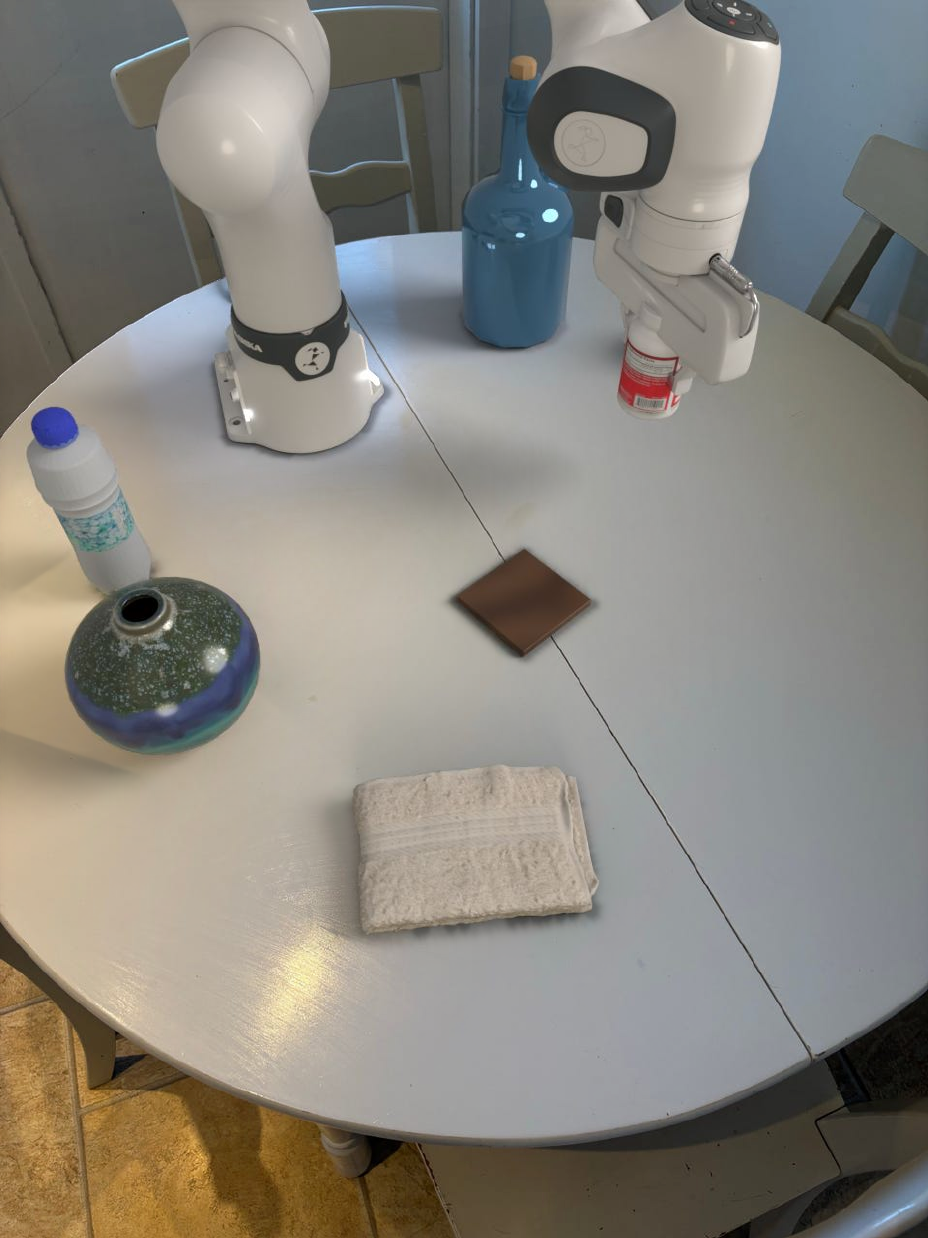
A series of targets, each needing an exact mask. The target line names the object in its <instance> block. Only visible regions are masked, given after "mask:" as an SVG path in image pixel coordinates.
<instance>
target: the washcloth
mask: <svg viewBox="0 0 928 1238" xmlns="http://www.w3.org/2000/svg"><path fill="white" fill-rule="evenodd" d="M352 792H353V796H352V804H353V809H354V810H353V811H354V812H353V816H354V821H355V825H356V826H355V827H356V828H357V835H358V836H359V850H360V852H359V858H360V863H359V864H358V866H357V871H358V873H357V886H358V890H357V894H358V901H359V922H360V926H361V929H362V931H363V932H365V934H366V936H368V935H369V934H376V933H383V932H395V933H398V932H399V931H401V930H407V931H408V930H409V931H410V930H411V931H412V930H413V929H417V928H418V929H419V928H420V929H421V928H426V927H438V926H441V927H443V926H457V924H465V925H469V924H473V923H480V922H484V921H485V922H487V921H493V920H494V919H498V920H499V919H513V918H516V917H525V916H529V917H530V916H531V917H532V916H533V917H546V916H549V915H555V916H556V915H557V914H558V915H560V914H574V913H576V914H579V913H580V914H582V913H586V912H590V911H592V909H593V898H592V897H593V896H594V894H595V892H596V891H597V889H598V887H599V884H600V881H601V880H600V879H598V876H597V875H596V873H595V871H594V867H593V866H594V865H593V862H592V859H591V858H592V857H591V852H590V847H589V842H588V835H587V831H586V825H585V820H584V815H583V809H582V805H581V798H580V794H579V788H578V783H577V777H576V776H574V775H565V774H564V772H563V771H562V770H561V769H560V768H559V767H557V766H553V765H535V766H518V765H515V766H514V765H513V766H510V765H505V764H503V763H494V764H491V765H487V766H481V767H472V768H467V769H465V768H464V769H452V770H443V771H442V770H437V771H432V772H425V773H422V774H413V775H402V776H391V777H389V776H388V777H379V778H375V779H372V780H369V781H366V782H363V783H360V784H357V785H356V786H355V787H354V788H353V791H352Z"/></svg>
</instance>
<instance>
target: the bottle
mask: <svg viewBox="0 0 928 1238" xmlns="http://www.w3.org/2000/svg"><path fill="white" fill-rule="evenodd" d="M30 429H31V432H32V434H33V436H34V438H33V439H32V440H31V441H30V442H29V444H28V446H27V448H26V460H27V463H28V466H29V469H30V472H31V475H32V478H33V482H34V485H35V486H34V487H35V489H36V490H37V491H38V493H39V494H40V495H41V498H42V500H43V501H44V503H45V504H47V505H48V506H49V507H51V509H52V510H53V512H54V514H55V515H56V518H57V519H58V521H59V523H60V525H61V527H62V529H63V531H64V533H65V535H66V537H67V539H68V541H69V542H70V544H71V546H72V549H73V551H74V555H75V556H76V559H77V561H78V565H79V566H80V568H81V571H82V572H83V574H84V576H85V578H86V579H87V581H88V582H89V583H90V584H92V585H93V586H94V587H95V588H97V589H98V591H99V592H101V593H102V594H104V595H107V596H109V595H110V594H112V593H114V592H115V591H117V590H119V589H121V588H123V587H125V586H128V585H131V584H133V583H136V582H139V581H143V580H147V579H150V575H151V568H152V566H153V558H152V554H151V551H150V547H149V546H148V544H147V542H146V540H145V538H144V536H143V534H142V533H141V531H140V529H139V526H138V525H137V524H136V521H135V519H134V516H133V514H132V512H131V509H130V507H129V505H128V503H127V500H126V497H125V495H124V493H123V490H122V488H121V486H120V484H119V483H120V474H119V471H118V469H117V467H116V462H115V460H114V457H113V456H112V455H111V454H110V452H109V451H108V449H107V447H106V446H105V443H104V442H103V441H102V439H101V438H100V436H99V434H98V433H97V432H96V431H95V430H94V429H93V428H92V427H89V426H87V425H85V424H80V423H77V422H76V419H75V417H74V415H73V414H72V413H71V412H70V411H69V410H68V409H66V408H65V407H60V406H49V407H45V408H43V409H40V410H39V411H37V412H36V413H35V414H34V415H33V416H32V419H31V422H30Z"/></svg>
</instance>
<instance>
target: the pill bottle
mask: <svg viewBox="0 0 928 1238" xmlns="http://www.w3.org/2000/svg"><path fill="white" fill-rule="evenodd" d="M640 319H641V320H640ZM640 319H639V318H638V317H637V318H636V319H635V320H634V321H633V322H632V324H631V325H630V328H629V332H628V337H627V343H626V345H625V348H624V354H623V360H622V365H621V369H620V370H621V371H620V375H619V376H620V377H619V381H618V387H617V393H616V399H617V403H618V405H619V407H620V408H621V410H622V411H623V412H624V413H626V414H627V415H628V416H630V417H632V418H635V419H637V420H641V421H660V420H664V419H667V418H668V417H670V416H672V415H673V414H674V413H675V412H676V411H677V409H678V408H679V405H680V401H681V399H682V394H681V395H678V396H676V395H674V393H673V392H672V391H671V390H670V389H669V388H668V387H667V386H666V382H667V381H668V374H669V372H672V371H678V370H679V369H681V368H682V367H683V366H682V367H681V366H680V365H679V360H680V357H679V356H678V355H677V354H676V353H675V352H674V351H673V350H672V349H671V348H670V347H669V346H667V345H666V344H665V343H664V342H663V341H662V340H661V339H660V338H659V337H658V336H657V332H656V331H659V329H660V324H661V319H662V318H661V317H660V316H659V315H658V314H657V313H656V312H655V311H654V310H653V309H651V308H650V307H649V306H648V305H647V304H646V303H645V302H644V301H643V302H642V307H641V313H640Z"/></svg>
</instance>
